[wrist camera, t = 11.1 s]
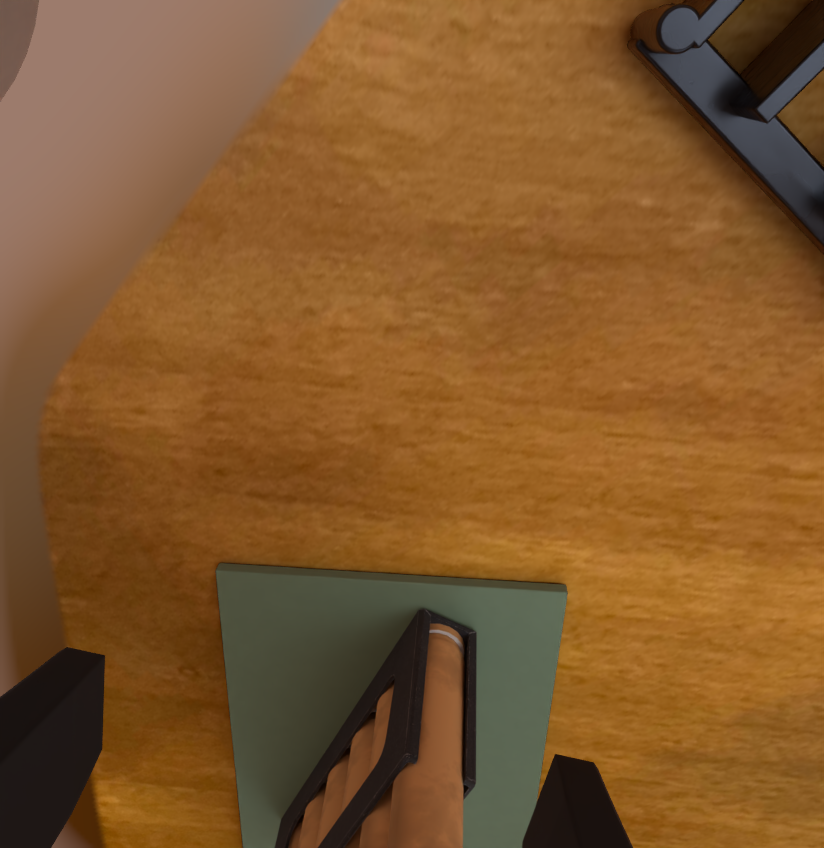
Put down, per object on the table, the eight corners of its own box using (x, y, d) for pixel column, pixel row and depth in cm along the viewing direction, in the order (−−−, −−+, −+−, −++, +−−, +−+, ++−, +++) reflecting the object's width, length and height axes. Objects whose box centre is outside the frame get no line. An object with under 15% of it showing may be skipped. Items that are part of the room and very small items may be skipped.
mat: (218, 562, 22) (215, 570, 22) (566, 584, 22) (567, 592, 22) (249, 873, 29) (245, 883, 28) (520, 894, 28) (521, 905, 28)
